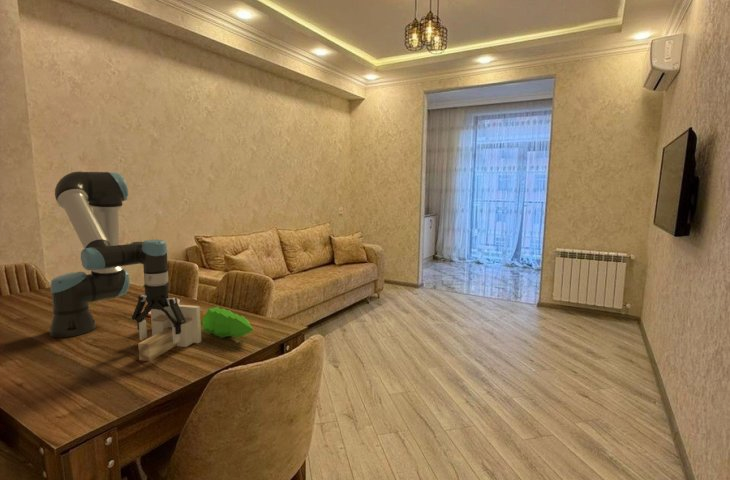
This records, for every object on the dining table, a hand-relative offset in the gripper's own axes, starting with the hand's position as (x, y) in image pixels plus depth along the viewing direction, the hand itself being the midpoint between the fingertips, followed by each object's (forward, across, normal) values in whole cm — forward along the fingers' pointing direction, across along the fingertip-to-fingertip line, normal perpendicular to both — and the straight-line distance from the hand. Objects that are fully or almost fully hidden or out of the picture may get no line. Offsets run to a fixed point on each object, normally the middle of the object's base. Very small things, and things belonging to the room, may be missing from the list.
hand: (159, 340), depth 144 cm
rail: (+4, +1, 0) cm, 4 cm away
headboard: (+4, 0, +8) cm, 9 cm away
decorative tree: (+4, +16, +17) cm, 24 cm away
